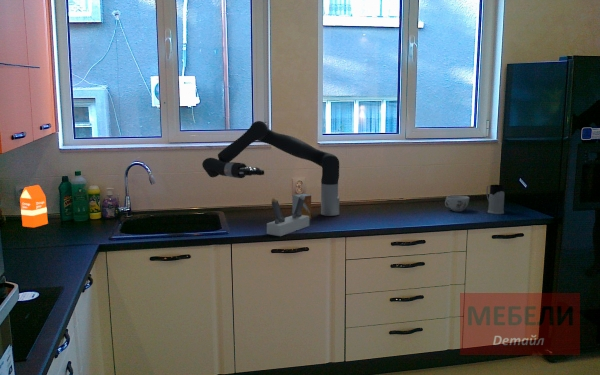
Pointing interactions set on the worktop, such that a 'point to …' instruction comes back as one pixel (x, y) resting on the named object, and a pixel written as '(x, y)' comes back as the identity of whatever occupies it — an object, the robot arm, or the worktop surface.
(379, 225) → the worktop surface
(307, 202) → the small box
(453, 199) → the teacup
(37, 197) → the orange juice
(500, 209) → the glass holder
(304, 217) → the switch box
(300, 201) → the grey lever
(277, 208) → the tan tipped lever
